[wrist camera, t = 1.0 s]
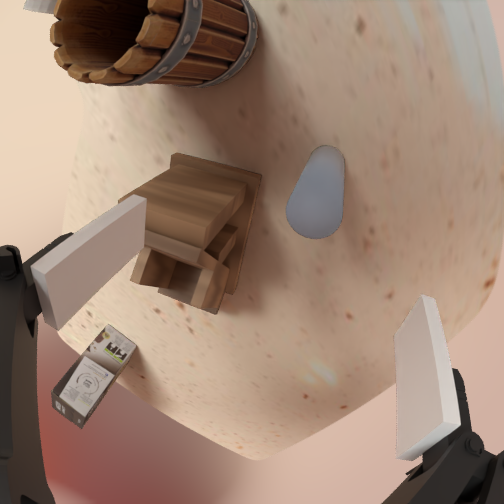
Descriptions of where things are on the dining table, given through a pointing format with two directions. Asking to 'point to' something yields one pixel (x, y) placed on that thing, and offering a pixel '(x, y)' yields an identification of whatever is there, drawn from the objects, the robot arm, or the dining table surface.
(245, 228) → the socket block
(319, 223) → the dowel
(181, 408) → the dining table surface
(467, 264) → the dining table surface
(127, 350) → the coffee box
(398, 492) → the robot arm
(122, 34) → the mug
